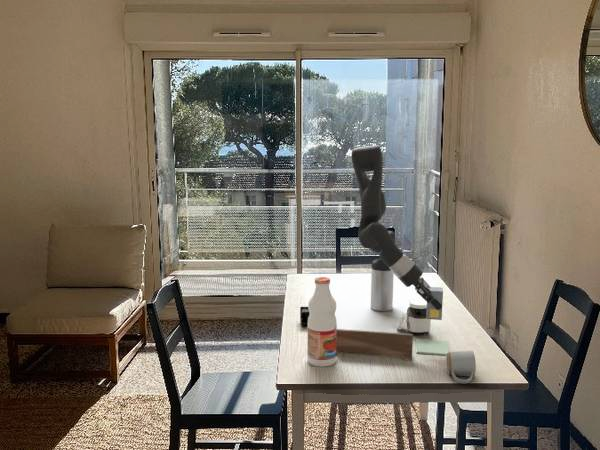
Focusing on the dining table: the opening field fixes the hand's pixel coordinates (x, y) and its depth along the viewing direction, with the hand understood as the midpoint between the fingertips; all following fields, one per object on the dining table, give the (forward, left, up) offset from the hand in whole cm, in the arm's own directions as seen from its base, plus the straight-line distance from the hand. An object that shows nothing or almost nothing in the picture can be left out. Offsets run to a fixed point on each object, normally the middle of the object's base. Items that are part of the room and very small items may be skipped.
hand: (439, 305), depth 199 cm
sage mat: (0, -2, -15) cm, 15 cm away
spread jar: (-15, -9, -16) cm, 23 cm away
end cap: (-16, -47, -16) cm, 52 cm away
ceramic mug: (+22, +6, -16) cm, 28 cm away
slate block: (0, -2, -4) cm, 5 cm away
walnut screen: (+10, -22, -15) cm, 28 cm away
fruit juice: (+19, -38, -16) cm, 45 cm away
